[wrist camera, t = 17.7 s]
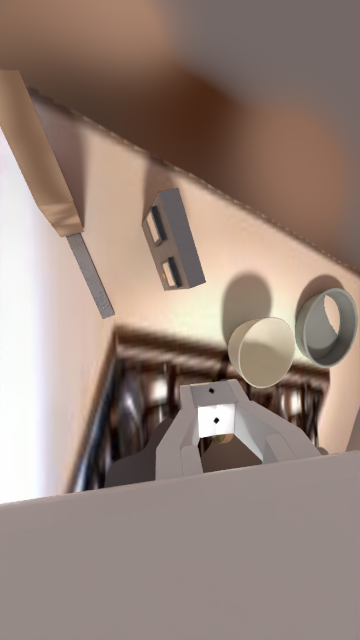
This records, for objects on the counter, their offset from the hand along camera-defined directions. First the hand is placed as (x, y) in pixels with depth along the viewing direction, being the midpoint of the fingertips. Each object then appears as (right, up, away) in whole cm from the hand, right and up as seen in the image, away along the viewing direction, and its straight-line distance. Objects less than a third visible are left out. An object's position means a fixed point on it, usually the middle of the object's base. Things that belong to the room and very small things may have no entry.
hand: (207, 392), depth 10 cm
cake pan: (+43, +2, +53) cm, 69 cm away
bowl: (+15, -2, +42) cm, 45 cm away
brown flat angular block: (-23, +25, +24) cm, 42 cm away
